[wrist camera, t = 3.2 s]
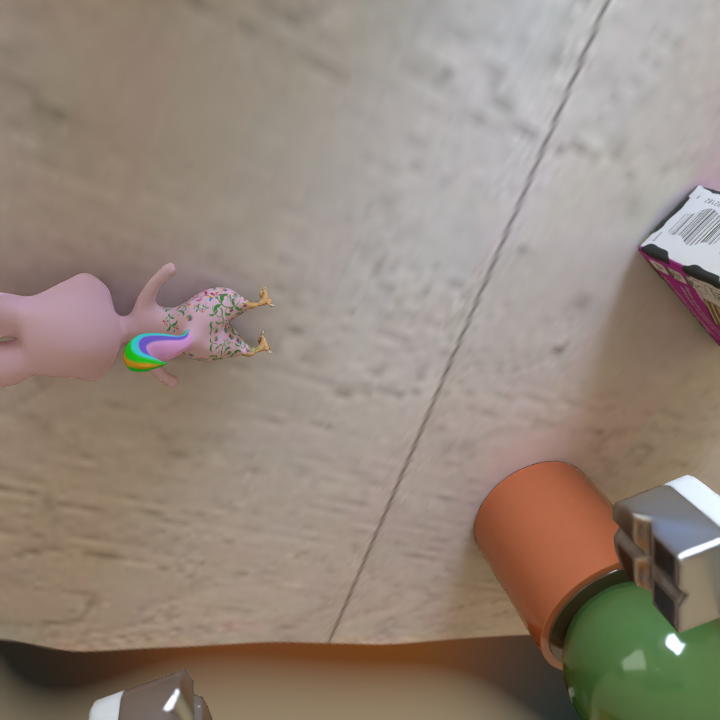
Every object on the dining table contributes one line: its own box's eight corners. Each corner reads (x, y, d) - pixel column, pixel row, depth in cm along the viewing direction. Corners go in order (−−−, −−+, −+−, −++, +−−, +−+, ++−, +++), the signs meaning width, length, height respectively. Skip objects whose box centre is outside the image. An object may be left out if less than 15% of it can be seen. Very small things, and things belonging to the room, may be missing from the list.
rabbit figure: (258, 247, 31) (-106, 251, 24) (297, 287, 26) (-145, 305, 20) (254, 359, 33) (-75, 388, 27) (288, 414, 28) (-103, 465, 22)
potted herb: (577, 439, 40) (802, 661, 26) (600, 525, 45) (803, 755, 30) (457, 501, 40) (616, 761, 25) (493, 581, 45) (645, 841, 30)
